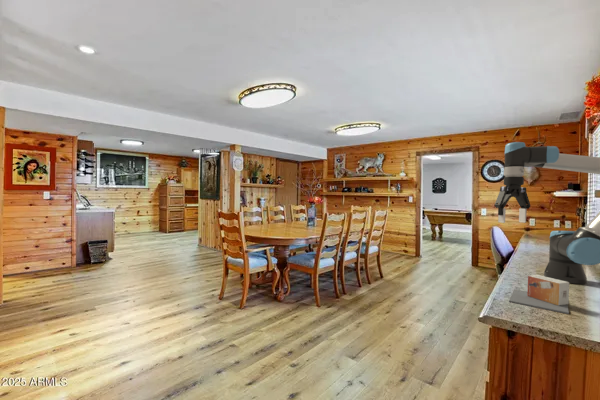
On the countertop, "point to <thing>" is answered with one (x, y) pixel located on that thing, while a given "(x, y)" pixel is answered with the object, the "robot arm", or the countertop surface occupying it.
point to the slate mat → (536, 302)
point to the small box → (548, 289)
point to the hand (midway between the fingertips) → (512, 222)
